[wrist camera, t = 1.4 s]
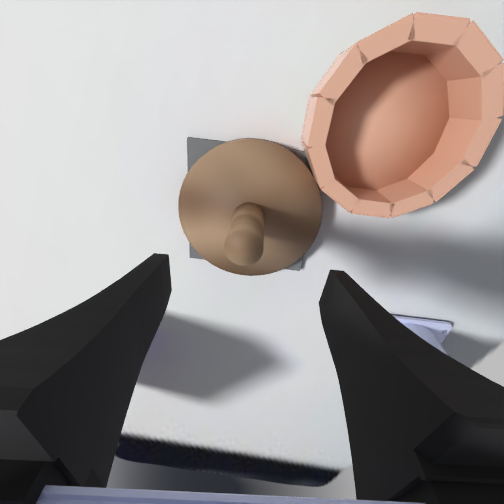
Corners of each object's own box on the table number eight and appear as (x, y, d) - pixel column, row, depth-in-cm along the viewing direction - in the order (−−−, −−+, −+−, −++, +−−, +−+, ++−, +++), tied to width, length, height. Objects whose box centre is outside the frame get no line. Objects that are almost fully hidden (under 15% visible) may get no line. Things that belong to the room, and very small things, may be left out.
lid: (303, 275, 23) (313, 325, 18) (184, 261, 23) (160, 306, 18) (336, 148, 18) (363, 166, 13) (179, 129, 18) (142, 139, 13)
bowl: (419, 206, 20) (445, 224, 17) (291, 191, 20) (295, 206, 17) (493, 43, 15) (550, 28, 12) (322, 23, 15) (336, 2, 12)
